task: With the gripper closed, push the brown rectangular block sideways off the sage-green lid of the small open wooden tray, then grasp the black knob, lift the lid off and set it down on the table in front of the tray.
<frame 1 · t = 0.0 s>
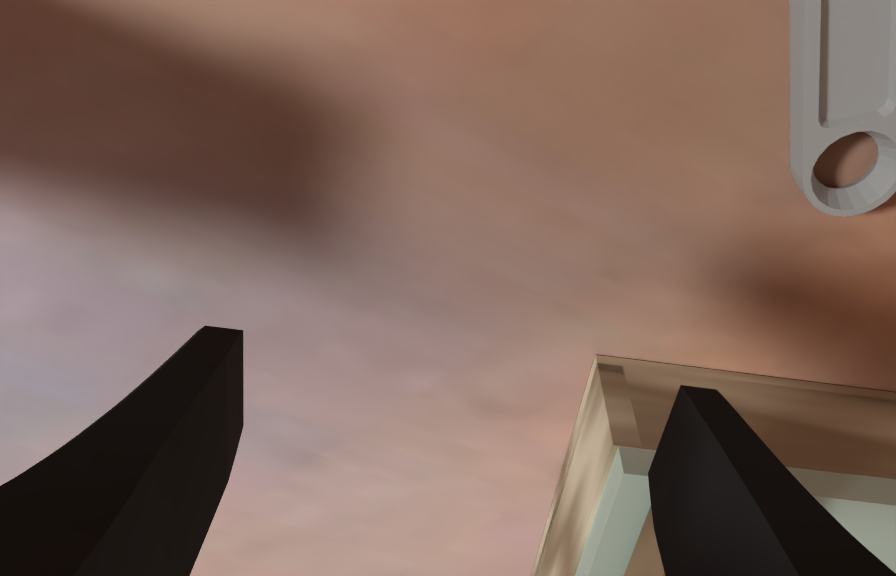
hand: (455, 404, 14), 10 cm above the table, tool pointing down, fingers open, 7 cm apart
open wooden tray: (723, 509, 29), on the table
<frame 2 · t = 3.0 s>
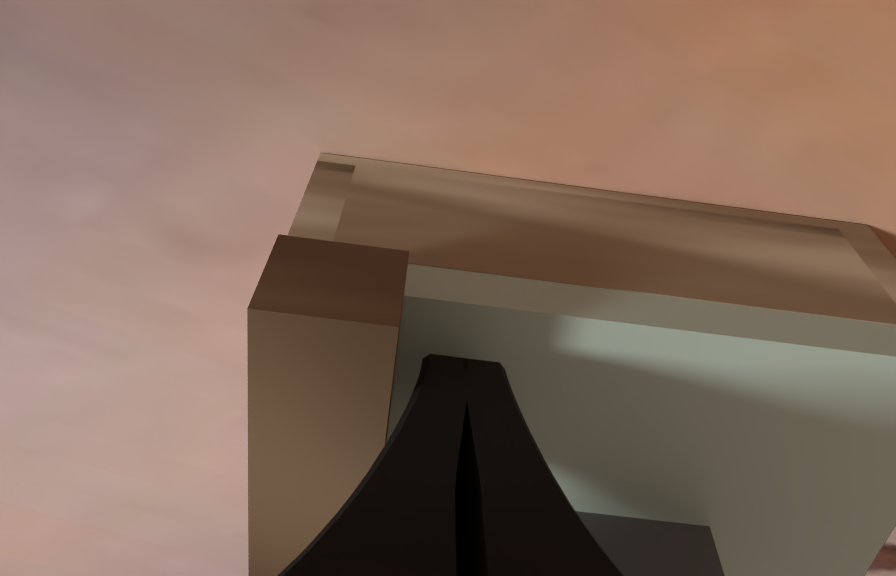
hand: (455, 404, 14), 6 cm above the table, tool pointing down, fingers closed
lid: (559, 489, 18), point 3 cm above the table, touching open wooden tray
open wooden tray: (544, 400, 21), on the table
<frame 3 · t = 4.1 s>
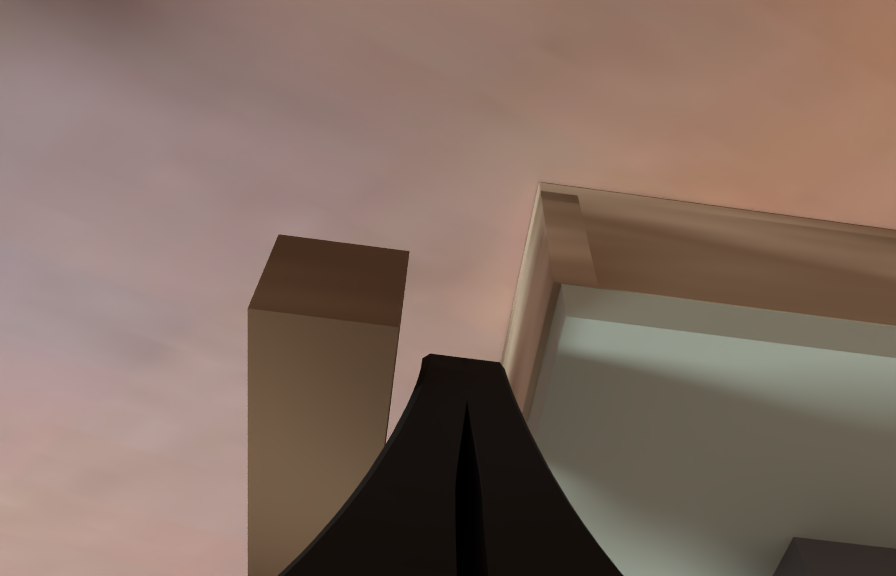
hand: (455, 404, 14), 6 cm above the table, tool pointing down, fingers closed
lid: (762, 513, 19), point 3 cm above the table, touching open wooden tray
open wooden tray: (723, 422, 21), on the table
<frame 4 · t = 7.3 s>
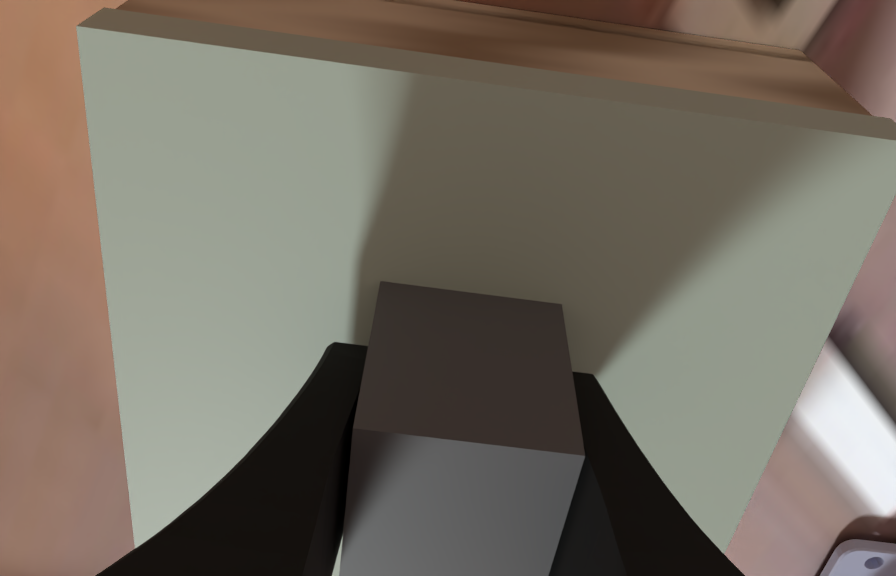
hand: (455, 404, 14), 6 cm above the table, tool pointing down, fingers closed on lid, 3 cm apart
lid: (453, 341, 16), point 3 cm above the table, touching gripper, open wooden tray
open wooden tray: (455, 269, 19), on the table
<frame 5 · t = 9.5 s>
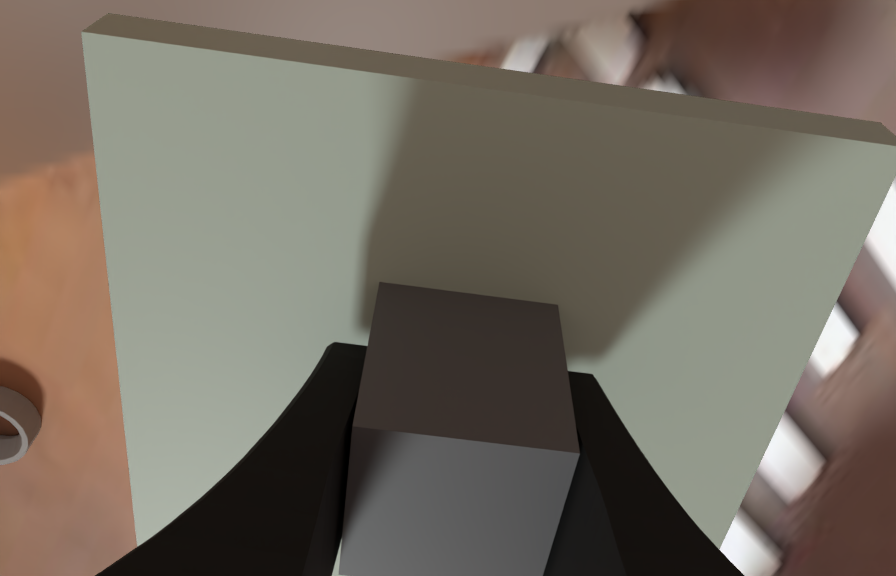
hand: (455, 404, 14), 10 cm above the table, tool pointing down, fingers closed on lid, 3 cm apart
lid: (451, 341, 17), point 7 cm above the table, touching gripper
when the fingers open (4 cm above the table, at t = 11.4 s): lid drops 1 cm, on the table.
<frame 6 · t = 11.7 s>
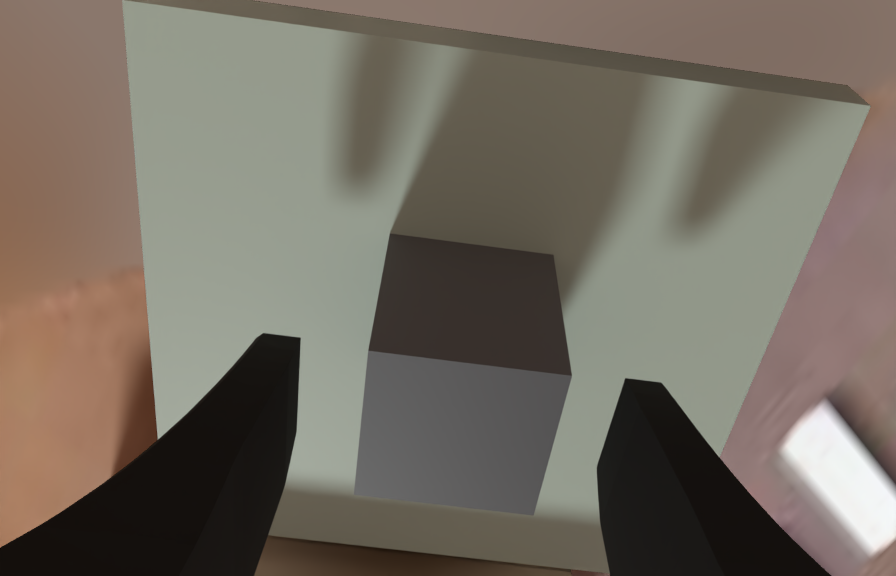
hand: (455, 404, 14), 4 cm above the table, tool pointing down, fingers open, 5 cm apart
lid: (455, 297, 18), on the table
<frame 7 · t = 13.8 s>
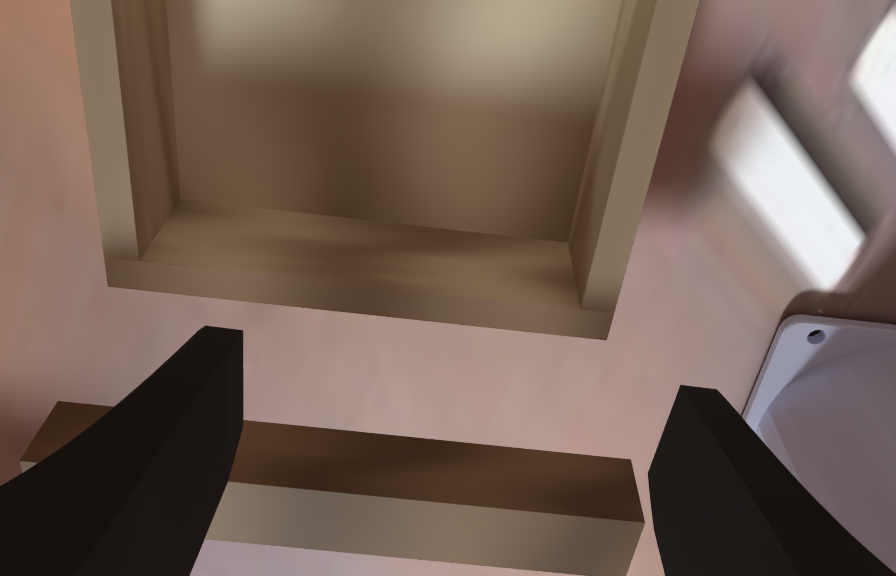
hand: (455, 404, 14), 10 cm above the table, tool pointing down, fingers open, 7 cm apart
brown rectangular block: (341, 490, 20), point 6 cm above the table, slide at 5.6 cm
open wooden tray: (393, 16, 20), on the table
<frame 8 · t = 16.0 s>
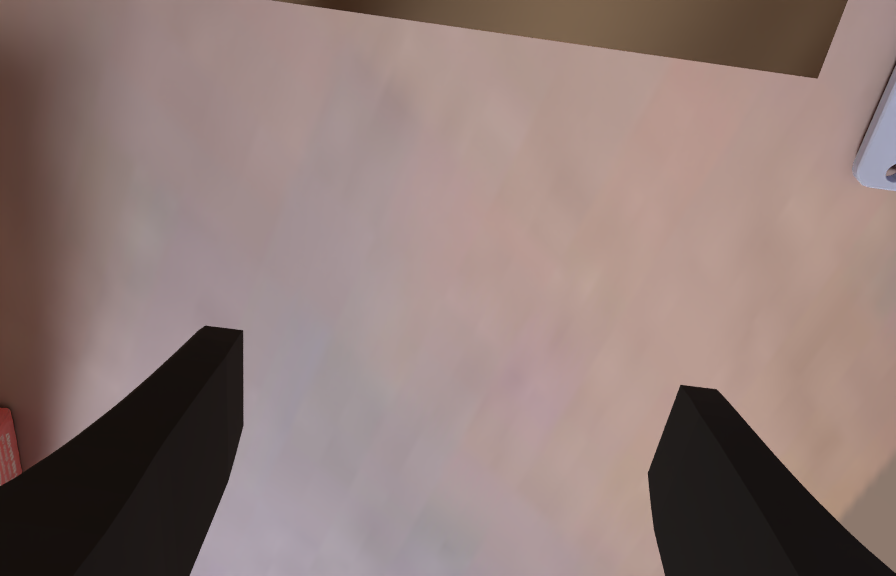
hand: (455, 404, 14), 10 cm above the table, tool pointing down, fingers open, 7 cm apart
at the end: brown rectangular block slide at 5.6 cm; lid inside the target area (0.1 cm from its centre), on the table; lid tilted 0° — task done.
